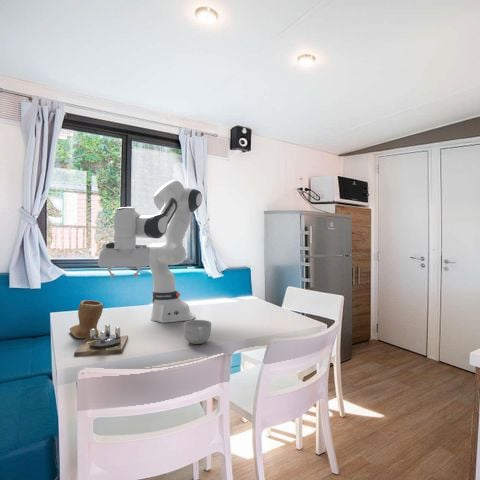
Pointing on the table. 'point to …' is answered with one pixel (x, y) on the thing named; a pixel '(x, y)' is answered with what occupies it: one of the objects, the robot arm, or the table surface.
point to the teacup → (197, 331)
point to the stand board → (89, 350)
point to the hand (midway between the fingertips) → (124, 277)
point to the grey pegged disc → (104, 338)
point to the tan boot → (87, 318)
